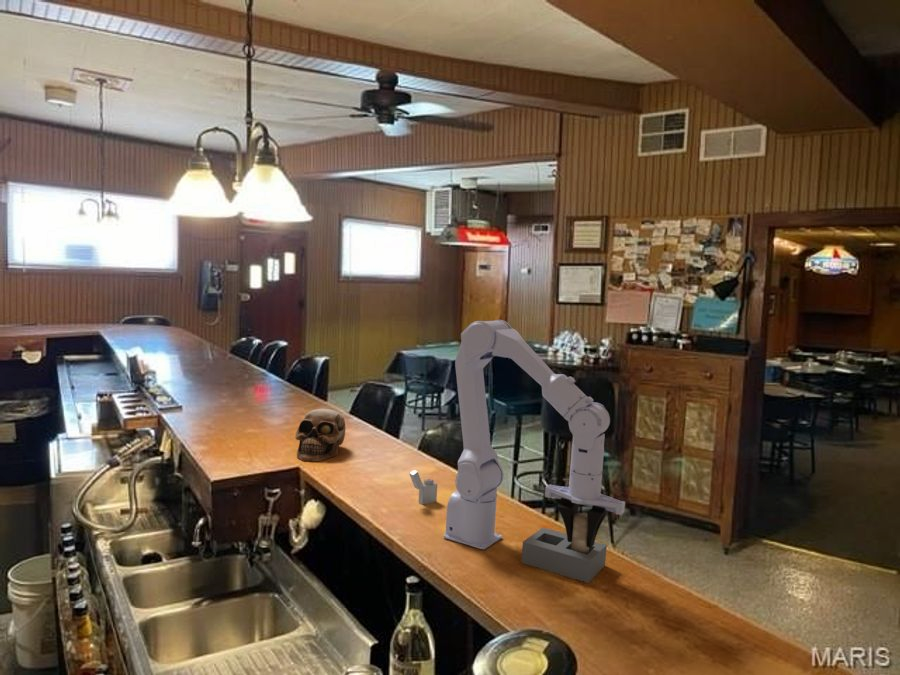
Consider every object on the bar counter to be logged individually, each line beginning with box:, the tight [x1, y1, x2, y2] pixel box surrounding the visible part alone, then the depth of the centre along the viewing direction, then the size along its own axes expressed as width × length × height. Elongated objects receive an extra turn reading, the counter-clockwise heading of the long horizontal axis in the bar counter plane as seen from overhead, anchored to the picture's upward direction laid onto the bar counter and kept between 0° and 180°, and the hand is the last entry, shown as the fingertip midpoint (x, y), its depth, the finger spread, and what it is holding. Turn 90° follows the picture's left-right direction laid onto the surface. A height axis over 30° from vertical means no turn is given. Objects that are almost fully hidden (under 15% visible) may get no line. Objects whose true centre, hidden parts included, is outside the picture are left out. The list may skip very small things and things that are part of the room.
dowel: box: [571, 512, 589, 554], centre depth 119 cm, size 3×3×8 cm
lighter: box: [408, 469, 438, 505], centre depth 149 cm, size 7×2×8 cm, turn 127°
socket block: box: [520, 527, 608, 584], centre depth 121 cm, size 13×9×4 cm
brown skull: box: [295, 408, 346, 463], centre depth 186 cm, size 16×17×13 cm
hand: (580, 542), depth 119 cm, fingers closed on dowel, 3 cm apart
